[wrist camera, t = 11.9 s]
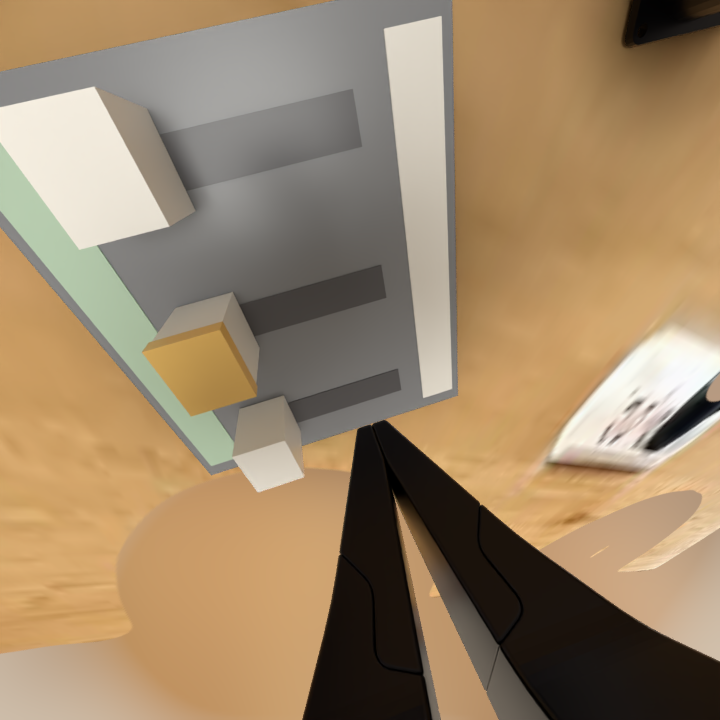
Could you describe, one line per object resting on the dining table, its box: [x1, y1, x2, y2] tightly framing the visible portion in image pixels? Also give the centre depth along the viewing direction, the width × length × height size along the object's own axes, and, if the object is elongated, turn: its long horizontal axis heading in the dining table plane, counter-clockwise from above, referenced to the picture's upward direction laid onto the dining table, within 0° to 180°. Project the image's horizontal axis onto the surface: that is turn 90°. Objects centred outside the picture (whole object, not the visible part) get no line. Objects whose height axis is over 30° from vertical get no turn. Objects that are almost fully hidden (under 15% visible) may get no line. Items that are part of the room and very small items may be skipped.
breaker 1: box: [0, 87, 195, 250], centre depth 11 cm, size 3×4×4 cm
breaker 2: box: [232, 395, 305, 492], centre depth 19 cm, size 3×4×4 cm
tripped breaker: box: [142, 292, 260, 417], centre depth 15 cm, size 3×4×4 cm
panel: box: [0, 0, 458, 475], centre depth 18 cm, size 20×22×2 cm
